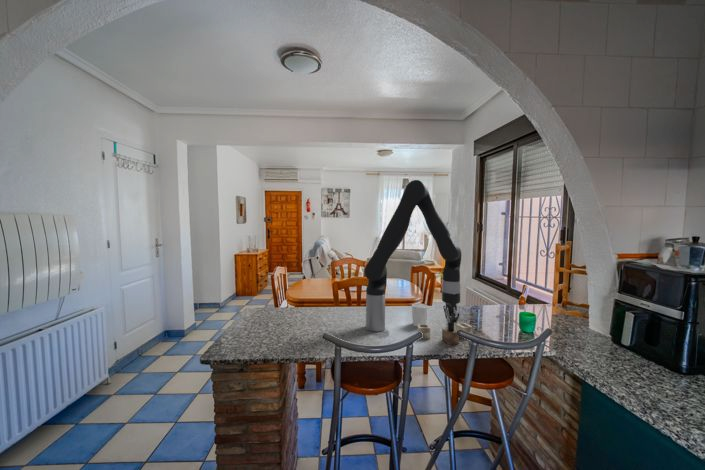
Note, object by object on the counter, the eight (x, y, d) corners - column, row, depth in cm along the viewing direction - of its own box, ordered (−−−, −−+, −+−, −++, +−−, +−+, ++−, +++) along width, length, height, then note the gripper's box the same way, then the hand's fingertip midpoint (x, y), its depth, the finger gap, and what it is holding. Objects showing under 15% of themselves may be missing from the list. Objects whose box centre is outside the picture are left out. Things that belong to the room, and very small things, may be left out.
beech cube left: (418, 338, 124) (418, 327, 124) (417, 334, 129) (417, 323, 129) (430, 339, 124) (430, 327, 124) (428, 334, 129) (428, 324, 129)
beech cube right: (463, 338, 125) (463, 327, 125) (456, 334, 130) (456, 323, 130) (472, 337, 126) (472, 326, 126) (465, 333, 131) (465, 322, 131)
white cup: (423, 328, 136) (424, 308, 136) (409, 325, 141) (409, 305, 141) (429, 324, 142) (430, 305, 142) (415, 321, 147) (415, 302, 147)
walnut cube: (448, 344, 118) (448, 333, 118) (442, 340, 123) (442, 328, 123) (458, 343, 119) (458, 332, 119) (452, 339, 124) (452, 328, 124)
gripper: (437, 287, 127) (437, 325, 127) (448, 294, 114) (447, 336, 114) (453, 287, 127) (453, 325, 127) (466, 294, 114) (465, 336, 114)
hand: (450, 330), depth 121 cm, fingers closed
